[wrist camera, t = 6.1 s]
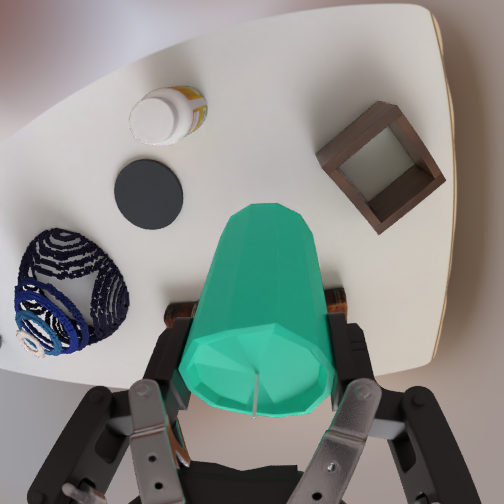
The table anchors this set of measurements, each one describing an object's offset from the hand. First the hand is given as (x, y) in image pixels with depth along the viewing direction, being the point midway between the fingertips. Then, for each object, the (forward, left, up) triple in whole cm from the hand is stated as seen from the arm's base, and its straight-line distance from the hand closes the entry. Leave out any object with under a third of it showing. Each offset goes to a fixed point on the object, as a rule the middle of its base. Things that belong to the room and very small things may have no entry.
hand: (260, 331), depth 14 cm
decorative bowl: (-10, -34, -24) cm, 43 cm away
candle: (0, 0, -8) cm, 8 cm away
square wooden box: (+6, +10, -24) cm, 26 cm away
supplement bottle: (-12, -1, -24) cm, 27 cm away
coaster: (-9, -12, -24) cm, 28 cm away
